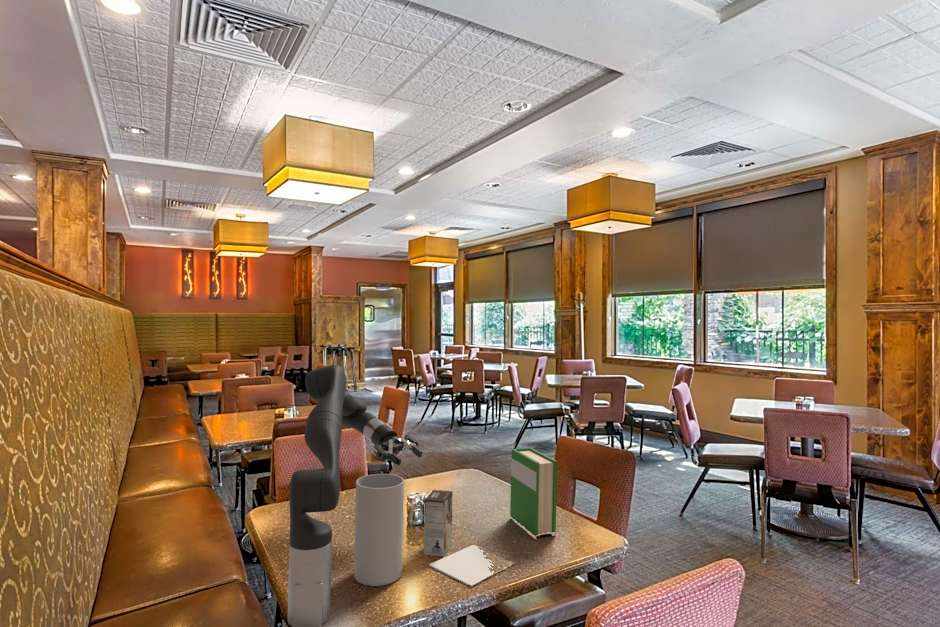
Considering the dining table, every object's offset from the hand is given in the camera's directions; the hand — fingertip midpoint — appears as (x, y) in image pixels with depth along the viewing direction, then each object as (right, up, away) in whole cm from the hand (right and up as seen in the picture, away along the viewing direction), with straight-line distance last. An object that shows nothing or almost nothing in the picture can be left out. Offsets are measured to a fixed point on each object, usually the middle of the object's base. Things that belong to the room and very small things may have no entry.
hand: (410, 458), depth 162 cm
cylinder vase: (-6, -24, -24) cm, 35 cm away
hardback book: (+39, -26, +10) cm, 48 cm away
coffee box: (+9, -25, -8) cm, 27 cm away
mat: (+19, -25, -17) cm, 36 cm away
